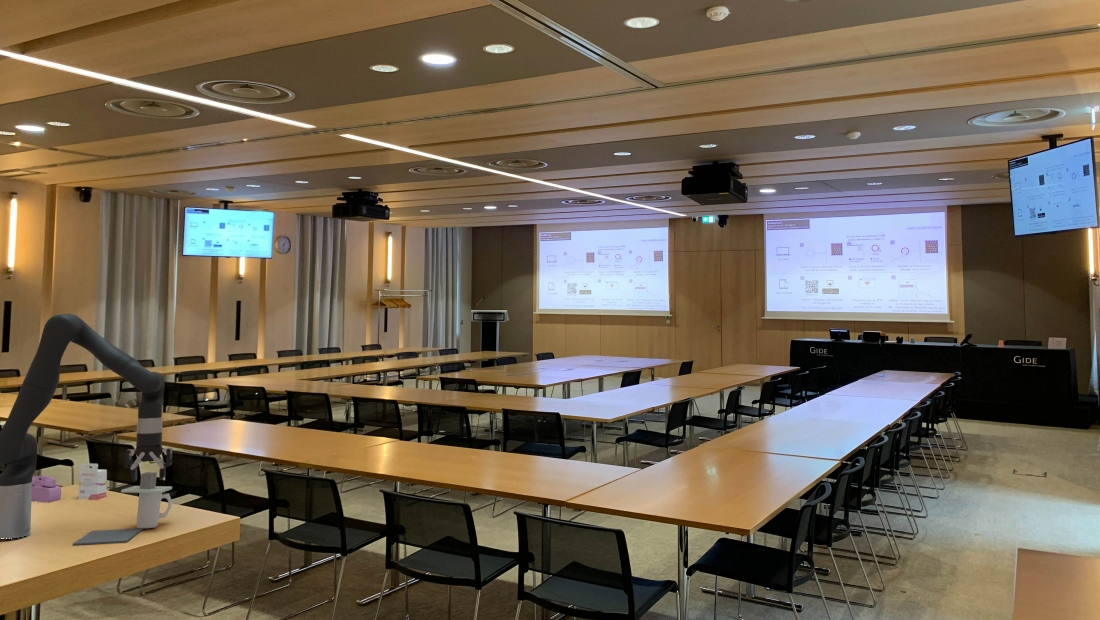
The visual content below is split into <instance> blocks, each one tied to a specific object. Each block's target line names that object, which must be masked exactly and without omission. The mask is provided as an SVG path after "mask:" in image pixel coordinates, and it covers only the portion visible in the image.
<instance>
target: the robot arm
mask: <svg viewBox="0 0 1100 620" xmlns="http://www.w3.org/2000/svg"><path fill="white" fill-rule="evenodd" d="M70 343H73V344H75V345H78V346H80V347H82V348H83V349H84V350H86V351H88V352H89V353H90V354H92V355H93V356H94V357H95V358H96V359H97V360H98V362H99V363H101V364H102V365H103V366H104V367H106V368H107V369H109V370H110V371H111V372H113V373H114V374H116V375H118V376H119V377H122V378H123V379H125V380H126V381H127V382H128V384H131V385H132V386H133V387H134V388H135V389H137V390H139V391H140V392H141V399H140V401H139V402H138V403H139V404H138V407H137V408H138V410H137V422H136V444H135V445H136V448H135V449H131V448H128V449H126V450H124V451H125V452H124V468H125V469H129V470H130V479H131V480H132V481H133V482H136V481H137V480H138V468H137V467H139V465H140V464H141V463H142V462H143V463H146V462H150V463H151V462H155V464H156V465H158V467H159V469H158V470H159V471H158V472H159V474H158V475H159V476H158V477H159V478H158V479H159V481H162V480H164V478H166V468H167V467H170V466H172V465H173V448H172V447H168V448H163V429H164V426H163V418H162V417H163V415H162V414H163V405H162V404H163V399H164V394H165V388H166V387H165V378H164V376H163V374H162V373H160V372H158V371H150V370H149V369H147V368H146V367H144V366H143V365H142V364H141V363H140V362H139V361H138V359H136V358H134V357H132V356H131V355H129V354H128V353H126V352H124V351H123V350H121V349H120V348H118V347H117V346H116V345H114V344H113V343H111V342H109V341H108V340H107V339H105V338H104V337H103V336H102V335H100V334H98V332H96V331H95V330H94V329H93V328H92V327H91V326H90V325H88V323H86V322H85V321H84V320H83V319H82V318H80V317H79V316H78V315H76V314H74V313H73V314H72V313H61V314H55V315H53V316H51V317H50V318H49V319H48V320H47V321H46V322H45V324H44V326H43V330H42V334H41V337H40V341H39V344H38V347H37V351H36V353H35V356H34V357H33V359H32V362H31V363H30V366H29V368H28V371H27V372H26V375H25V377H24V379H23V381H22V384H21V386H20V387H19V391H18V394H17V396H16V399H15V401H14V404H13V405H12V407H11V409H10V412H9V414H8V417H7V419H6V420H5V423H4V424H3V427H2V428H1V430H0V465H6V467H5V469H4V470H3V471H2V472H1V473H0V539H1V538H4V539H6V538H7V539H9V538H10V539H11V538H18V539H20V538H19V537H22V538H25V537H24V536H26V537H28V536H30V535H31V530H32V528H31V527H32V526H31V524H32V523H31V522H32V502H33V501H32V477H33V476H34V475H35V473H36V469H37V458H38V443H37V440H36V438H35V436H34V435H32V434H31V433H29V432H28V431H29V428H30V427H31V426H32V424H33V423H34V421H35V420H36V419H37V418H38V417H39V416H40V415H41V414H42V413H43V412H44V410H45V409H46V408H47V407H48V406H49V404H50V403H51V402H52V400H53V397H54V395H55V393H56V391H57V387H58V386H59V383H60V375H61V364H62V363H61V361H62V359H63V356H64V353H65V351H66V349H67V347H68V346H69V344H70ZM163 453H164V456H165V460H166V461H165V462H164V460H163V457H162V456H161V455H162V454H163ZM134 454H135V455H136V457H137V458H136V459H135V460H134V462H133V463H132V456H134ZM11 540H12V539H11Z"/></svg>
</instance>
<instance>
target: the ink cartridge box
mask: <svg viewBox="0 0 1100 620" xmlns="http://www.w3.org/2000/svg"><path fill="white" fill-rule="evenodd" d="M98 467H99V464H98V463H91V462H90V463H89V462H88V463H86V462H85V463H84V462H82V463H80V466H79V471H78V473H79V474H78V476H79V477H78V500H81V499H88V500H89V501H99V500H102V499H104V498H107V483H108V482H107V478H108V477H107V476H108V475H107V474H108V472H107V471H108V470H107V469H99V468H98ZM101 498H102V499H101Z"/></svg>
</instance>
